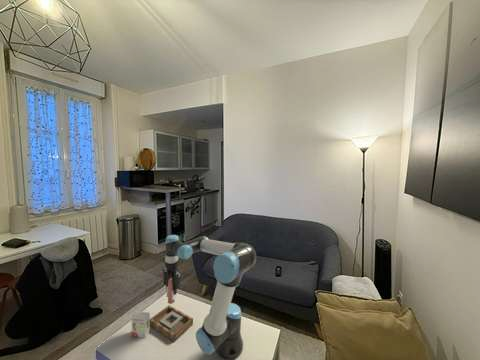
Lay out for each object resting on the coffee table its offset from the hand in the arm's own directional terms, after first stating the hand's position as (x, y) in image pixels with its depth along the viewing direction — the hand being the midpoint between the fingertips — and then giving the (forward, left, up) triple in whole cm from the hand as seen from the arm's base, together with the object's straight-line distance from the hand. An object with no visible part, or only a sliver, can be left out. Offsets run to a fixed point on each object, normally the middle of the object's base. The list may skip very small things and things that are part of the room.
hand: (171, 297), depth 122 cm
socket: (0, 0, -19) cm, 19 cm away
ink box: (+10, +14, -19) cm, 25 cm away
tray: (0, 0, -19) cm, 19 cm away
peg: (0, 0, -3) cm, 3 cm away
